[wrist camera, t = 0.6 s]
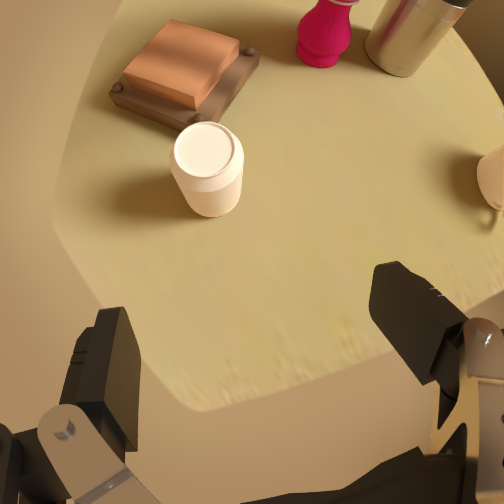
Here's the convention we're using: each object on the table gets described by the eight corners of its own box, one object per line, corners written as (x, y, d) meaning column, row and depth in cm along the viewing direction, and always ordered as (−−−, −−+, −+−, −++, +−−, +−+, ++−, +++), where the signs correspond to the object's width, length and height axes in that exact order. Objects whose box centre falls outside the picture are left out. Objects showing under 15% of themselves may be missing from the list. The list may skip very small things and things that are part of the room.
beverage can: (218, 157, 36) (212, 101, 24) (252, 196, 36) (260, 153, 24) (175, 189, 36) (150, 145, 24) (208, 230, 35) (196, 201, 23)
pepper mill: (331, 78, 39) (382, -29, 19) (284, 57, 39) (311, -57, 19) (347, 50, 40) (393, -48, 20) (303, 30, 40) (332, -72, 20)
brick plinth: (173, 36, 38) (167, 8, 32) (258, 65, 38) (261, 36, 32) (115, 104, 36) (100, 80, 31) (204, 142, 36) (200, 117, 30)
